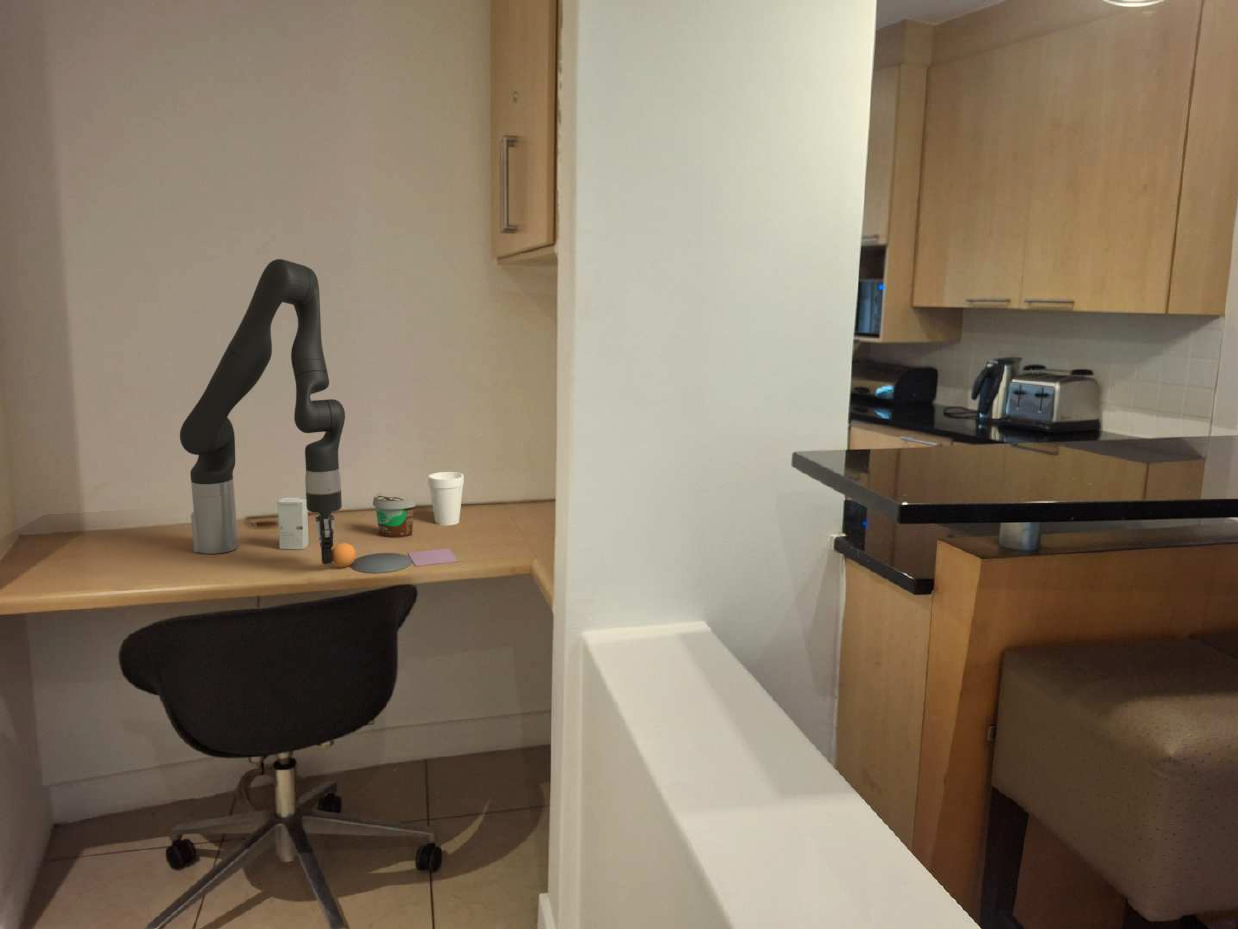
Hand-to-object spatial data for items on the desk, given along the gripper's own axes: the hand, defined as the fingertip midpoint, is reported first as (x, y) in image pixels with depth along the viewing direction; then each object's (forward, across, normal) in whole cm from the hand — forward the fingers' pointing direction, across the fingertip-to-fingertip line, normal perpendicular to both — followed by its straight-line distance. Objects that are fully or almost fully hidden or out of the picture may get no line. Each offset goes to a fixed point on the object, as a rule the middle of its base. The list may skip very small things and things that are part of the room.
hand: (327, 562), depth 202 cm
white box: (+2, +20, +6) cm, 21 cm away
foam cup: (+2, +30, -33) cm, 45 cm away
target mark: (+2, +1, -12) cm, 12 cm away
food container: (+2, +23, -17) cm, 29 cm away
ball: (-1, +2, -4) cm, 4 cm away
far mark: (+2, +1, -24) cm, 24 cm away
